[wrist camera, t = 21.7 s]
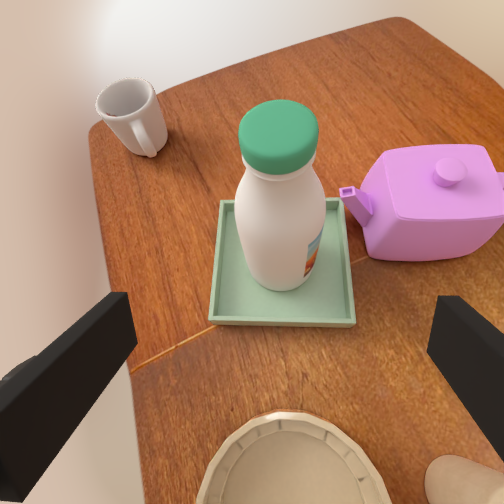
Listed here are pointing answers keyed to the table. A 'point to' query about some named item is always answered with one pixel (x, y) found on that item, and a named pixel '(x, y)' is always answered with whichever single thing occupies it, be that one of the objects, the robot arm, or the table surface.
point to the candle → (462, 482)
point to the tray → (283, 302)
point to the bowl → (291, 464)
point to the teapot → (428, 202)
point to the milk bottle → (279, 194)
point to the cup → (133, 115)
